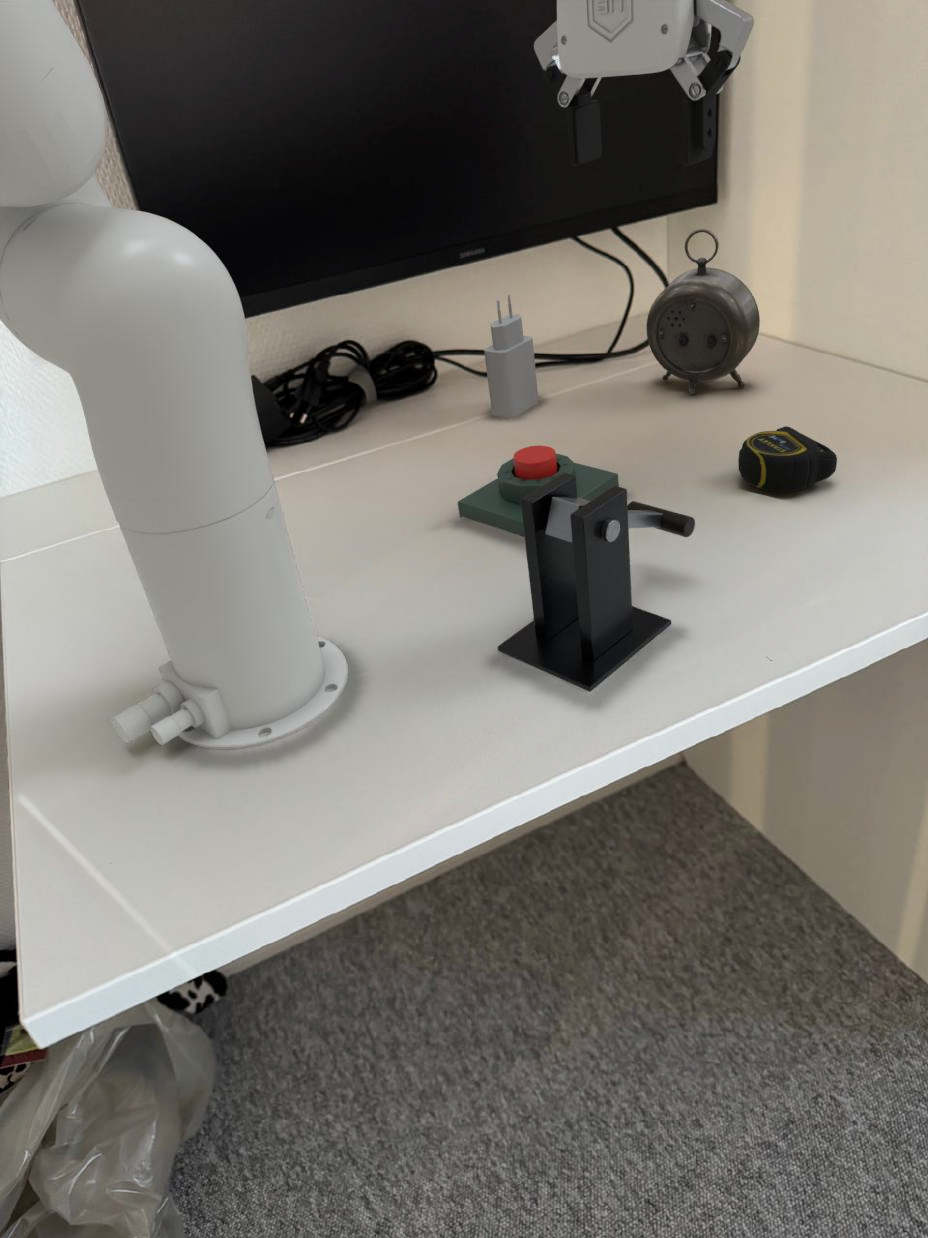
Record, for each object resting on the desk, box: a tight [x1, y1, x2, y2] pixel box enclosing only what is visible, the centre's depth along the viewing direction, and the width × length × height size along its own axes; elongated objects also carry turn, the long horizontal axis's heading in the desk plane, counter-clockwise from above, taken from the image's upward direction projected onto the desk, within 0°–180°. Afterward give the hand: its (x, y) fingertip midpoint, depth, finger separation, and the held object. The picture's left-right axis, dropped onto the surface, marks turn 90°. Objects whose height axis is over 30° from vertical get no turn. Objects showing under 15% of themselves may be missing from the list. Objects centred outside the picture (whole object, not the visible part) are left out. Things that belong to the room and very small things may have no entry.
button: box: [512, 445, 557, 480], centre depth 80 cm, size 4×4×2 cm
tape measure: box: [737, 426, 838, 493], centre depth 80 cm, size 7×7×4 cm
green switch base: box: [457, 453, 620, 538], centre depth 82 cm, size 11×9×4 cm
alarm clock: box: [646, 228, 761, 396], centre depth 97 cm, size 11×5×16 cm, turn 58°
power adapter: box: [483, 294, 539, 419], centre depth 100 cm, size 3×5×12 cm, turn 140°
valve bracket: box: [497, 473, 672, 692], centre depth 62 cm, size 9×8×12 cm
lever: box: [545, 497, 696, 543], centre depth 63 cm, size 12×5×2 cm, turn 136°
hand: (639, 161), depth 70 cm, fingers open, 9 cm apart
